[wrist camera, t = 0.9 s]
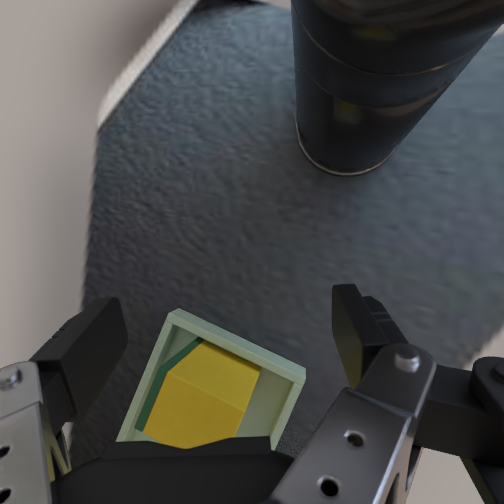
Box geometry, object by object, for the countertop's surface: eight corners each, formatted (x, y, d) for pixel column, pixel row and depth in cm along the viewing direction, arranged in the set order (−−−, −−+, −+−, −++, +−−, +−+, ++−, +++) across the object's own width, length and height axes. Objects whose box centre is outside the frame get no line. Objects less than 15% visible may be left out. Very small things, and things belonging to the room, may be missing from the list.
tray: (179, 307, 33) (168, 312, 30) (306, 368, 31) (306, 378, 28) (100, 497, 34) (84, 517, 31) (218, 568, 32) (210, 595, 29)
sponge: (199, 335, 32) (158, 367, 23) (262, 365, 31) (245, 411, 22) (180, 379, 32) (133, 428, 23) (242, 411, 31) (218, 474, 22)
